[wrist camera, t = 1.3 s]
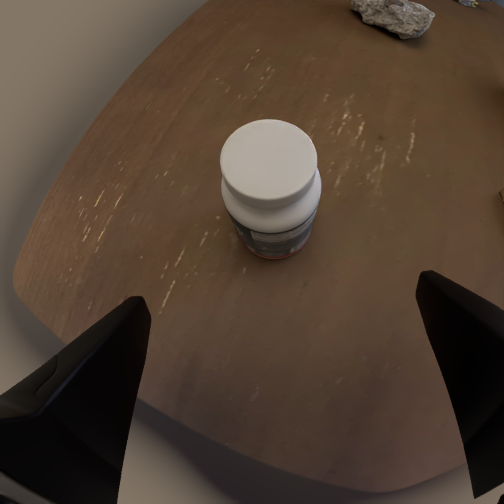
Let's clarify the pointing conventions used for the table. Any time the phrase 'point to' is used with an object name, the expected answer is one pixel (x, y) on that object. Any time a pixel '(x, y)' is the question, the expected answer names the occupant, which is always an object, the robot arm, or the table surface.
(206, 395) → the table surface
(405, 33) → the mineral specimen
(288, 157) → the pill bottle
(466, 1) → the mug
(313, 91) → the table surface
